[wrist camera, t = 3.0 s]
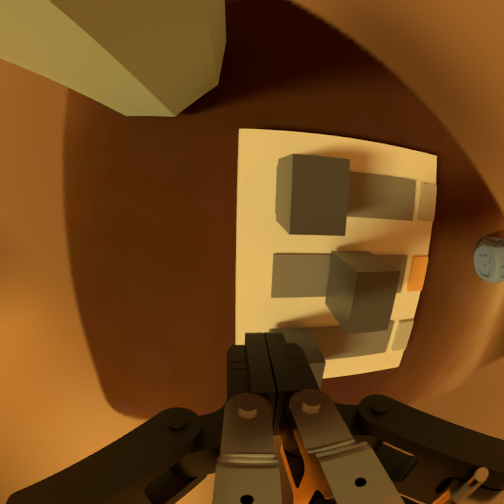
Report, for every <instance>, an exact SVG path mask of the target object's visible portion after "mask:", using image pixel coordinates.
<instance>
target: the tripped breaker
mask: <svg viewBox="0 0 504 504" xmlns="http://www.w3.org/2000/svg"><path fill="white" fill-rule="evenodd" d="M399 277H400V271H399V270H398V269H396V268H395V267H393V266H392V265H390V264H388V263H387V262H385V261H384V260H382V259H380V258H379V257H377V256H376V255H374V254H372V253H371V252H369V251H331V258H330V267H329V276H328V284H327V292H326V299H325V304H326V306H327V307H328V308H329V310H330V311H331V313H332V314H333V316H334V317H335V319H336V320H337V322H338V323H339V324H340V326H341V327H342V329H343V330H344V332H345V333H346V335H347V334H357V333H367V332H376V331H384V330H388V326H389V322H390V318H391V314H392V310H393V306H394V301H395V297H396V292H397V287H398V282H399Z"/></svg>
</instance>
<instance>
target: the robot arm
mask: <svg viewBox="0 0 504 504" xmlns="http://www.w3.org/2000/svg"><path fill="white" fill-rule="evenodd" d="M274 435H281V439H282V446H281V454H282V457H283V461H284V464H285V468H286V471H287V474H288V477H289V481H290V484H291V487H292V490H293V495H294V504H418V503H416V502H414V501H412V500H409V499H407V498H405V497H403V496H400V495H399V493H401V494H403V495H406V496H408V497H410V498H413V499H415V500H418V501H420V502H423V503H426V504H502V502H503V499H504V440H501V439H498V438H494V437H492V436H489V435H485V434H482V433H479V432H476V431H473V430H470V429H467V428H464V427H462V426H459V425H456V424H453V423H451V422H448V421H445V420H443V419H440V418H437V417H435V416H432V415H430V414H427V413H424V412H422V411H420V410H417V409H415V408H413V407H410V406H408V405H405V404H403V403H401V402H398V401H396V400H394V399H391V398H389V397H387V396H383V395H370V396H367V397H365V398H363V399H362V400H361V402H360V403H359V405H344V404H338V403H335V402H333V401H332V399H331V398H330V397H329V396H328V395H327V394H326V393H324V392H322V391H320V389H319V386H318V384H317V382H316V379H315V377H314V374H313V372H312V369H311V367H310V364H309V362H308V360H307V357H306V355H305V352H304V350H303V349H302V348H301V347H300V346H299V345H297V344H296V343H286V340H285V337H284V334H283V332H264V333H263V332H255V333H245V345H232V346H231V347H230V349H229V350H228V352H227V400H226V403H225V404H224V406H223V407H222V408H220V409H219V410H217V411H216V412H213V413H210V414H206V415H201V416H198V415H197V414H196V413H194V412H193V411H191V410H189V409H186V408H179V407H176V408H169V409H166V410H163V411H162V412H160V413H159V414H157V415H156V416H154V417H153V418H151V419H149V420H148V421H146V422H145V423H143V424H142V425H140V426H139V427H137V428H135V429H134V430H133V431H131V432H129V433H128V434H126V435H124V436H123V437H121V438H119V439H118V440H116V441H115V442H113V443H111V444H109V445H108V446H106V447H104V448H102V449H101V450H99V451H97V452H95V453H94V454H92V455H90V456H88V457H86V458H85V459H83V460H81V461H79V462H78V463H75V464H74V465H72V466H70V467H68V468H66V469H64V470H62V471H60V472H58V473H56V474H54V475H52V476H50V477H48V478H46V479H44V480H42V481H40V482H37V483H35V484H33V485H31V486H29V487H26V488H24V489H22V490H19V491H17V492H15V493H13V494H12V495H10V497H9V498H8V500H7V502H6V504H175V503H176V502H177V501H178V500H180V499H181V498H182V497H183V496H185V495H186V494H187V493H188V492H190V491H191V490H192V489H193V488H194V487H195V486H197V485H198V484H199V483H200V482H201V481H202V480H203V479H205V477H206V476H207V475H208V474H211V473H215V482H214V491H213V501H212V504H282V502H281V489H280V476H279V464H278V459H277V458H275V450H274ZM383 442H386V443H389V444H391V445H393V446H395V447H397V448H400V449H402V450H404V451H407V452H409V453H411V454H413V455H415V456H410V455H407V454H404V453H402V452H400V451H398V450H396V449H393V448H391V447H389V446H387V445H385V444H383ZM398 492H399V493H398Z"/></svg>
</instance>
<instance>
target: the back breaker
mask: <svg viewBox="0 0 504 504" xmlns="http://www.w3.org/2000/svg"><path fill="white" fill-rule="evenodd" d="M270 332H283V334H284V337H285V340H286V343H296V344H297V345H299V346H300V347H301V348H302V349H303V350H304V352H305V355H306V357H307V360H308V362H309V364H310V367H311V369H312V372H313V374H314V377H315V379H316V382H317V384H318V386H319V389H320V387H321V382H322V378H323V374H324V369H325V364H326V361H325V359H324V357H323V355H322V353H321V351H320V349H319V347H318V345H317V343H316V340H315V338H314V336H313V334H312V332H311V330H310V328H309V327H304V328H277V329H270Z"/></svg>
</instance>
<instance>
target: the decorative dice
mask: <svg viewBox="0 0 504 504" xmlns="http://www.w3.org/2000/svg"><path fill="white" fill-rule="evenodd" d="M474 266H475V270H476V272H477V274H478V275H479V277H480V278H481V279H483V280H485V281H488V282H493V283H497V282H502V281H504V239H503V238H499V237H485V238H483V239H482V240H481V241H480V242H479V243H478V245H477V247H476V249H475V253H474Z"/></svg>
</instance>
